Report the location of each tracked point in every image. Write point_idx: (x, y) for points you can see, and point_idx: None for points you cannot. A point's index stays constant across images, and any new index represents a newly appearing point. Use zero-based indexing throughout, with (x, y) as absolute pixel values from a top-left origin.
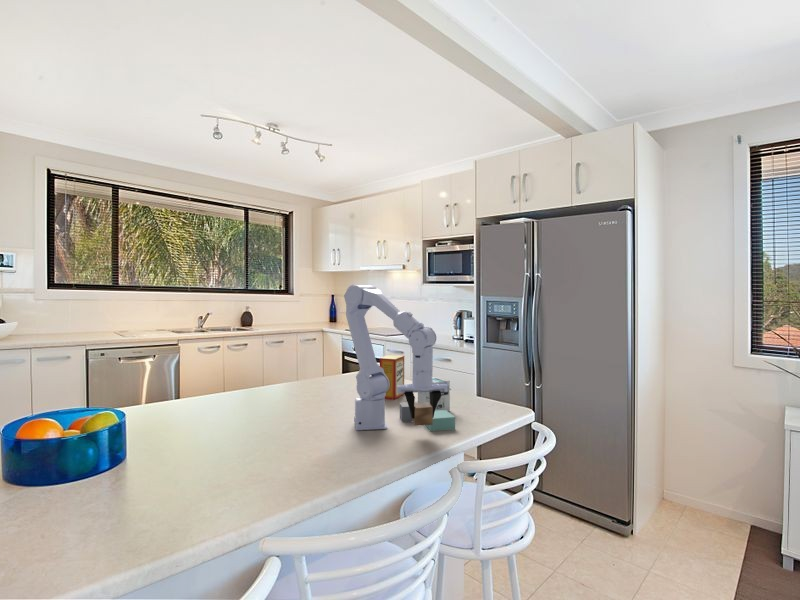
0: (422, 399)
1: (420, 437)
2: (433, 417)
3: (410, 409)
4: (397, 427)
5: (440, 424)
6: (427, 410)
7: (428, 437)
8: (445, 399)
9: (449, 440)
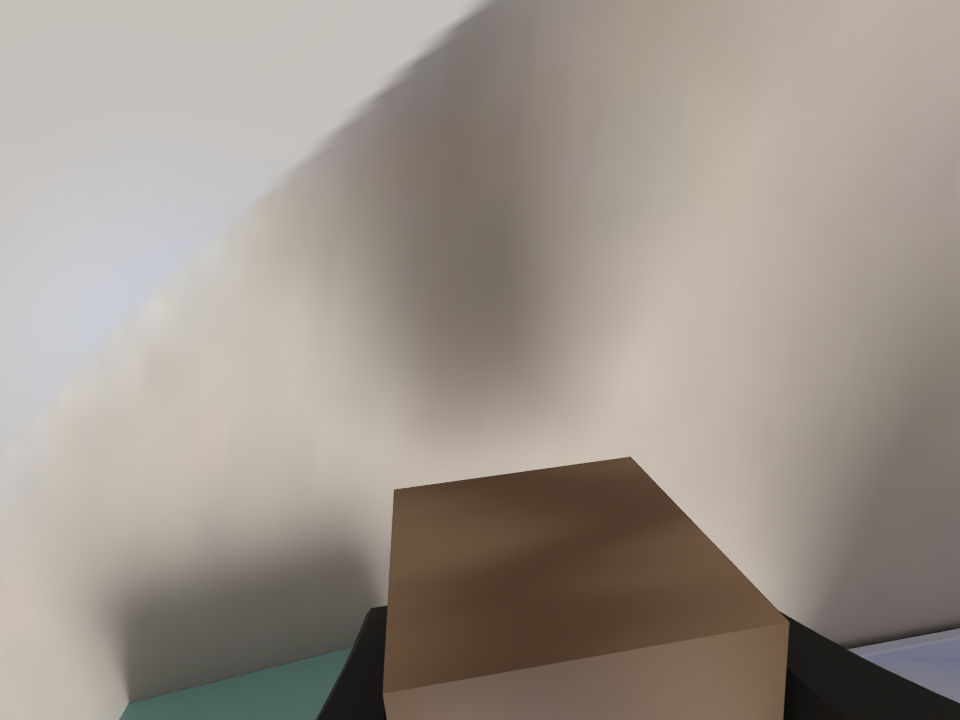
0: None
1: None
2: (367, 613)
3: None
4: None
5: (274, 713)
6: (500, 617)
7: (430, 475)
8: None
9: (215, 390)
